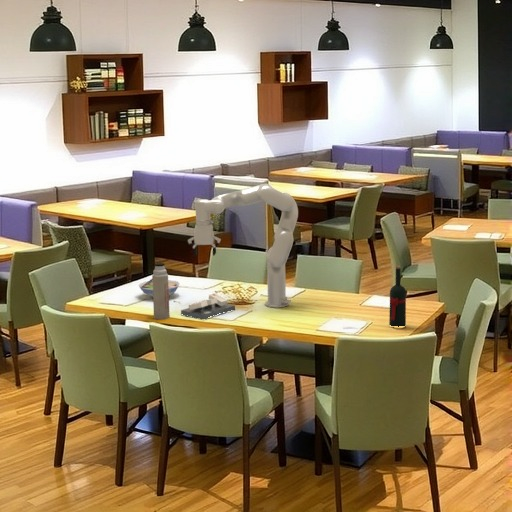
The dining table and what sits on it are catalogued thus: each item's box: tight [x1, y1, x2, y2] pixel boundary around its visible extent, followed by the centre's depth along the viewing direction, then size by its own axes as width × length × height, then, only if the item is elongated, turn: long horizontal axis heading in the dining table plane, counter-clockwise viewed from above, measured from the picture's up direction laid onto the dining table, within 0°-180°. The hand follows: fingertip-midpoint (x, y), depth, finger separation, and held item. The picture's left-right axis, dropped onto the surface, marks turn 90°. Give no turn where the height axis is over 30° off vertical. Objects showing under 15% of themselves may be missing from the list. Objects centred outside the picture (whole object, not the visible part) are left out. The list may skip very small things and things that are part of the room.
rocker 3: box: [207, 292, 228, 306], centre depth 498 cm, size 9×4×2 cm, turn 51°
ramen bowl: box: [138, 278, 181, 298], centre depth 528 cm, size 25×23×8 cm
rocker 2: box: [200, 298, 218, 305], centre depth 493 cm, size 9×4×3 cm, turn 49°
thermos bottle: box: [151, 262, 171, 320], centre depth 484 cm, size 8×8×28 cm
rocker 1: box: [188, 300, 208, 310], centre depth 487 cm, size 9×4×3 cm, turn 49°
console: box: [180, 303, 236, 320], centre depth 493 cm, size 16×24×4 cm, turn 140°
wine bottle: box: [388, 265, 407, 327], centre depth 457 cm, size 8×10×30 cm
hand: (204, 255), depth 499 cm, fingers open, 9 cm apart
